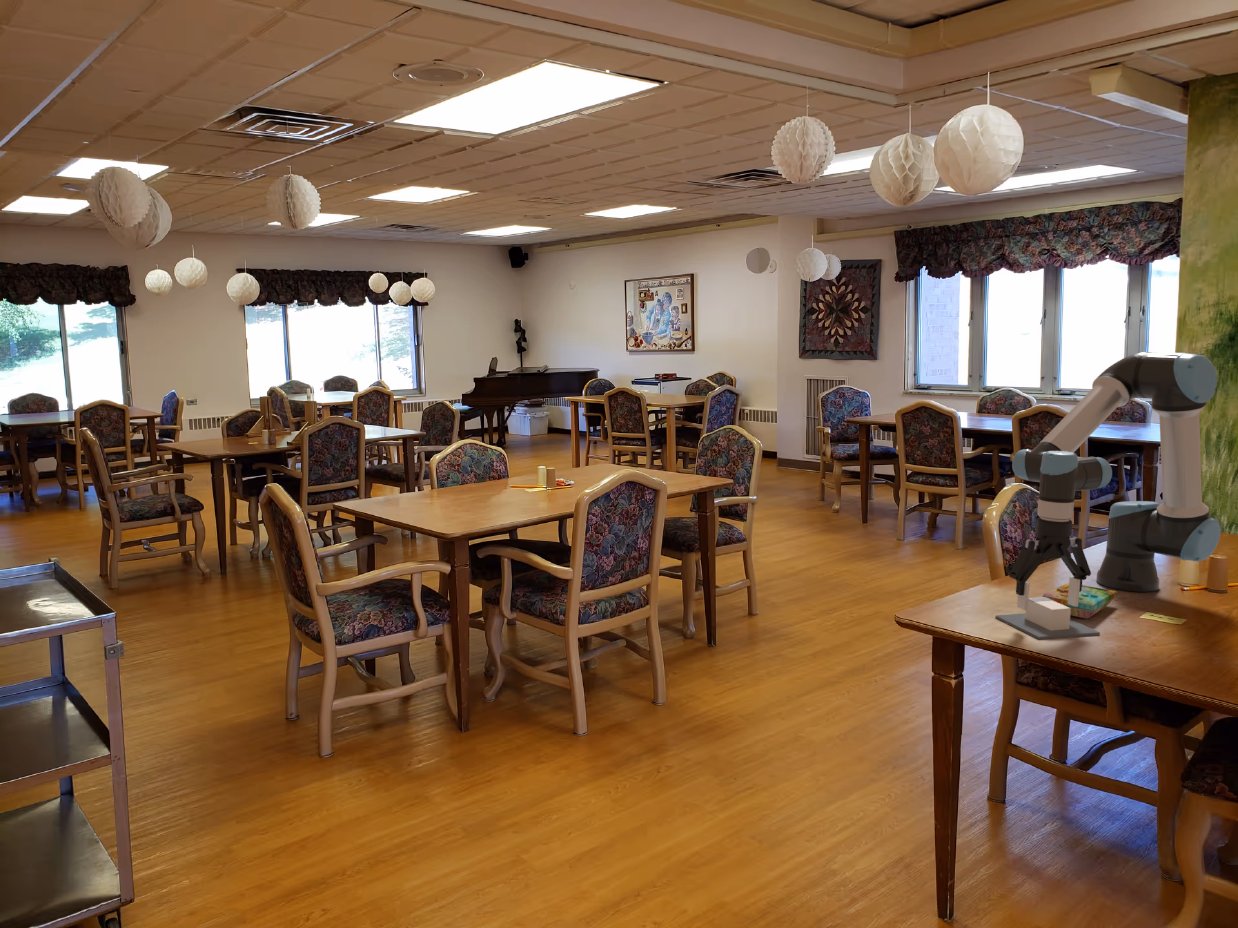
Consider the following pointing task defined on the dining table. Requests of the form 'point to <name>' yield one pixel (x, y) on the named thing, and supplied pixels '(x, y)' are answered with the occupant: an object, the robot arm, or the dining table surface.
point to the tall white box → (1048, 613)
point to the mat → (1043, 633)
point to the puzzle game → (1083, 599)
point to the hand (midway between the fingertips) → (1047, 606)
